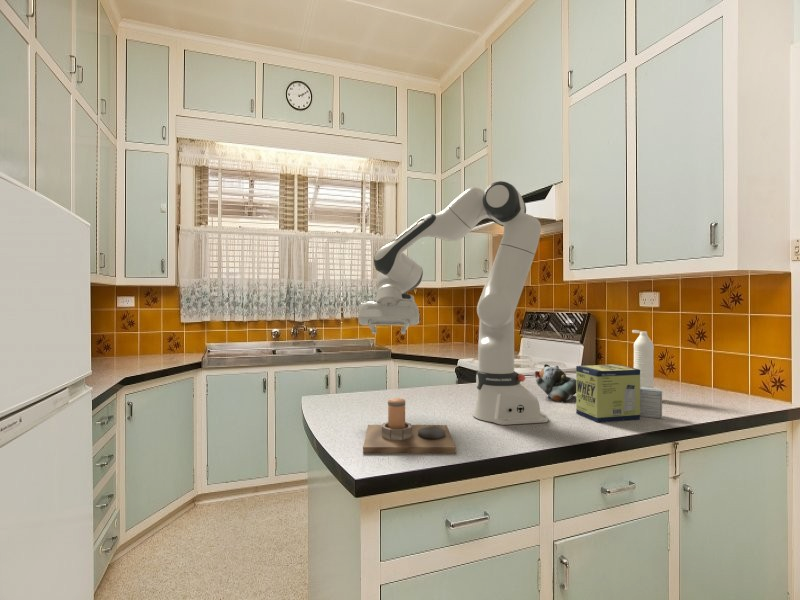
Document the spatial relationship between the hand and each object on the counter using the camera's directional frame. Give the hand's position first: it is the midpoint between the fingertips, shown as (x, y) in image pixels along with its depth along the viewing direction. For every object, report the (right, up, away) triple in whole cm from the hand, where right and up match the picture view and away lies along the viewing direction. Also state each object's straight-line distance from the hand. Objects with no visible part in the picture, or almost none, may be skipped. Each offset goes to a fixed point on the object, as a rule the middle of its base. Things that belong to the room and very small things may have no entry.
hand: (388, 332), depth 138 cm
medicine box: (+81, -26, -2) cm, 86 cm away
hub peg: (+3, -24, -27) cm, 36 cm away
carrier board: (+6, -26, -27) cm, 38 cm away
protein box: (+69, -26, -3) cm, 73 cm away
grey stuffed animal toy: (+62, -26, +22) cm, 71 cm away
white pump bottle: (+93, -26, +22) cm, 99 cm away
